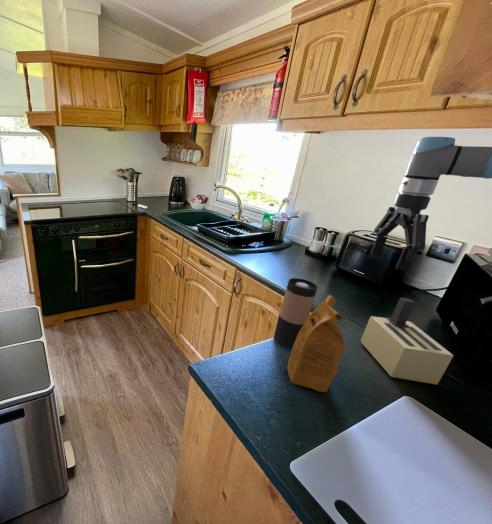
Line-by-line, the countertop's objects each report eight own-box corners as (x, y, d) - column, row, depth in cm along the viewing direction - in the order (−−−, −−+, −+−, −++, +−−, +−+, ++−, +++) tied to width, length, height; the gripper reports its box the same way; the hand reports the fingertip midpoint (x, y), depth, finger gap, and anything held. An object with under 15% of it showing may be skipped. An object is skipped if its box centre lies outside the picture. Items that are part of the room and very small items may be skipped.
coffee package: (326, 369, 79) (353, 298, 71) (329, 400, 69) (361, 321, 61) (287, 355, 83) (308, 287, 75) (284, 383, 73) (308, 307, 65)
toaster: (359, 342, 92) (370, 315, 88) (397, 348, 90) (410, 321, 87) (390, 378, 77) (405, 347, 74) (436, 386, 76) (454, 355, 72)
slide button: (386, 318, 87) (396, 296, 84) (399, 320, 86) (409, 297, 83) (394, 325, 83) (405, 302, 80) (408, 327, 83) (419, 304, 80)
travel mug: (268, 333, 93) (283, 277, 86) (292, 335, 93) (309, 279, 86) (278, 348, 86) (295, 288, 79) (304, 350, 86) (323, 290, 79)
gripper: (376, 188, 96) (354, 248, 104) (431, 198, 73) (399, 275, 81) (400, 190, 95) (377, 251, 103) (465, 201, 72) (429, 278, 80)
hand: (387, 261), depth 92 cm, fingers open, 13 cm apart
